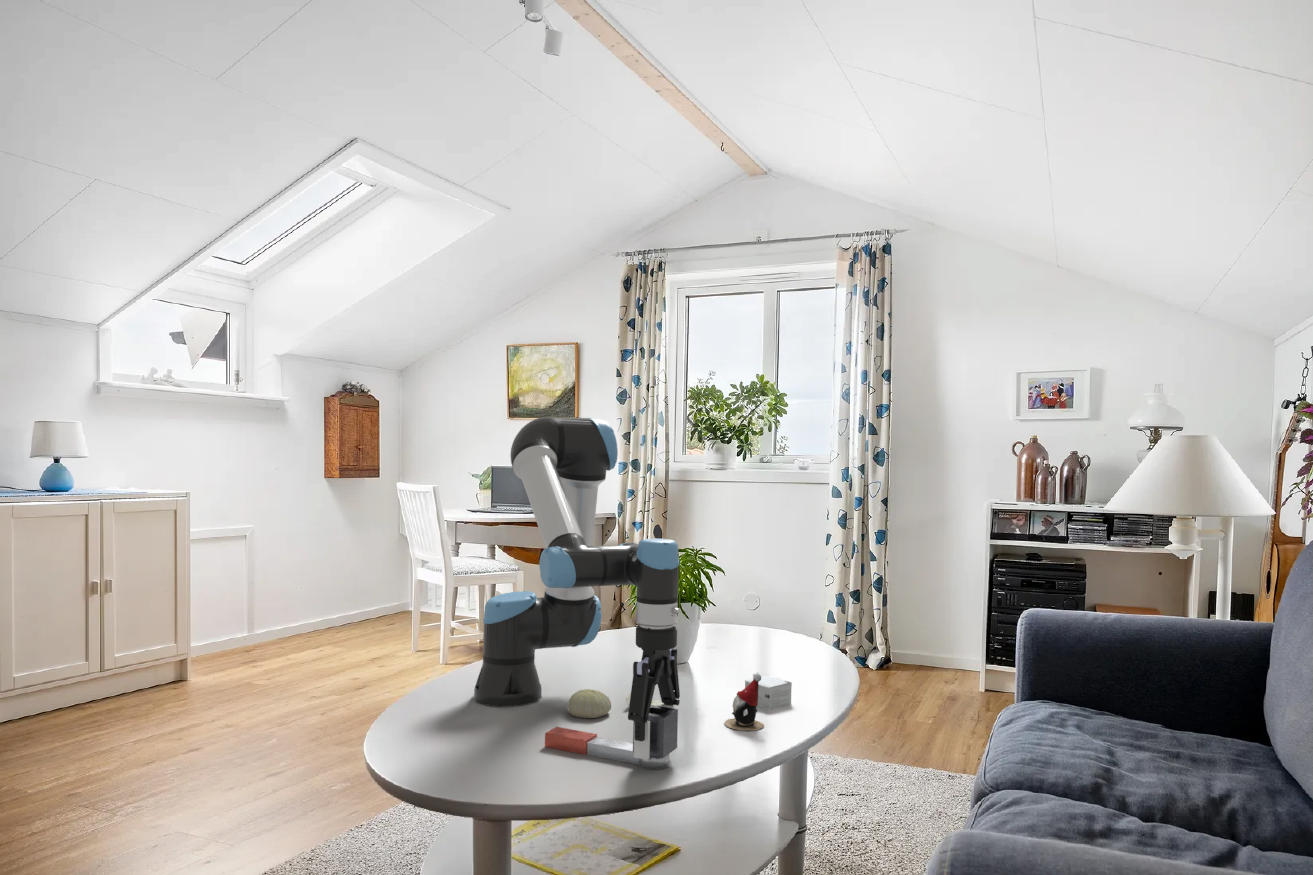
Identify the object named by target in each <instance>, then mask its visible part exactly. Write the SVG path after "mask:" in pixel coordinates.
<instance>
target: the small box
mask: <svg viewBox="0 0 1313 875" xmlns="http://www.w3.org/2000/svg"><path fill="white" fill-rule="evenodd" d="M752 681H753V678H749V679H746V680H744V689H745V688H746V687H747V686H748V685H749V684H750V683H751V682H752ZM758 684H759V687H758V702H757V707H761V708H764V709H768V710H773V709H775V708H780V707H784V706H787V705H791V704H792V682H791V681H789V680H785V679H782V678H780V677H776V676H775V677H774V676H770V675H767V674H766V675H761V680H760V681H759V682H758Z"/></svg>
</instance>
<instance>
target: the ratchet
mask: <svg viewBox="0 0 1313 875" xmlns="http://www.w3.org/2000/svg"><path fill="white" fill-rule="evenodd" d="M544 748H549V749H555V750H559V751H564V752H570V753H575V754H580V755H584V756H586V755H587V756H594V757H598V758H603V759H608V760H613V761H619V762H621V763H622V762H624V763H626V764H627V763H628V764H633V765H638V766H639V767H641V768H643V769H647V770H663V769H665V768H668V767H669V766H670V753H669V754H668V755H667V756H665V757H664V758H659V757H654V756H649V759H648V760H645V759H640V758H635V757H634V753H633V742H632V743H631V742H627V741H622V740H621V741H620V740H616V739H610V738H605V737H600V736H598V733H592V732H587V731H582V730H577V729H572V728H566V727H560V726H556V727H555V726H554V728H552V729H550V730H548V731H546V732H545V733H544Z"/></svg>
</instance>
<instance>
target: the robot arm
mask: <svg viewBox="0 0 1313 875" xmlns="http://www.w3.org/2000/svg"><path fill="white" fill-rule="evenodd" d="M511 444H512V445H511V448H510V453H509V454H510V455H509V456H510V463H511V467H512V470H513V472H514V475H515V476H516V477H517V478H519V479H520V480H521V481H522V484H523V487H524V489H525V492H526V495H527V498H528V501H529V504H530V507H531V510H532V513H533V515H534V518H535V522H536V524H537V526H538V530H539V533H540V536H541V537H542V541H543V544H544V549H543V550H542V552H541V554H540V557H539V572H540V575H539V576H540V580H541V582H542V584H543V585H544V586H545V588H544V595H543V596H542V597H538V596H537V595H536V593H535V592H534V591H529V590H528V591H527V590H524V591H512V592H505V593H502V594H498V595H494V596H492V597H491V598H489V599H488V600H487V601H486V603H485V604H484V611H483V612H484V613H483V618H482V623H483V640H482V641H483V642H482V644H483V647H482V666H481V668H480V670H479V675H478V677H477V679H476V682H475V683H476V684H475V685H474V689H473V691H474V693H473V699H474V701H475V702H476V703H479V704H481V705H486V706H490V707H504V708H506V707H518V706H525V705H529V704H533V703H536V702H537V701H539V700H540V699H541V698H542V684H541V682H540V677H539V675H538V670H537V667H536V662H535V658H536V656H535V655H536V652H535V651H536V650H541V649H554V648H555V649H556V648H569V647H570V648H571V647H572V648H575V647H579V646H585V645H589V644H591V643H592V642H593V641H594V640H595V639H596V637H597V636H598V634H599V631H600V629H601V624H602V616H603V615H602V611H601V609H602V604H601V601H600V598H599V597H598V596H597V595H595V590H594V589H593V587H605V586H607V587H609V586H625V585H626V586H630V585H631V586H634V587H636V607H635V608H636V609H635V610H636V611H635V622H636V623H637V626H636V627H635V645H636V647H637V648H640V649H641V650H642V656H641V661H634V662H633V663H632V681H631V682H632V683H631V690H630V694H631V696H630V704H629V705H628V713H627V719H628V720H629V721H634V757H635V758H640V759H645V760H648V759H649V754H650V721H647V720H648V716H649V711H650V707H651V702H652V700H653V697H654V692H655V688H656V685H657V688H658V692H659V698H660V700H661V701H662V703H664V704H660V705H659V706H661V707H667V708H674V709H675V706H679V705H680V697H681V694H680V692H681V691H680V682H679V681H680V680H679V672H678V649H677V648H676V647H677V645H678V628H677V626H676V624H677V623H678V614H679V613H680V608H678V602H679V600H678V598H679V597H678V596H679V572H680V571H679V570H680V569H679V568H680V567H679V566H680V558H679V545H678V543H677V541H676V540H673V539H671V538H670V539H669V538H668V539H666V538H643V539H640V540H639V542H638V543H636V542H632V543H631V542H630V543H629V542H623V543H620V544H617V545H593V543H594V534H595V524H596V512H597V503H598V502H597V501H598V491H599V486H600V485H601V484H602V483H603V482H604V481H606V478H607V471H611V470H614V468H615V467H616V464H617V461H618V453H619V452H618V442H617V437H616V433H615V430H614V429H613V428H612V425H611V424H610V423H609V422H607V421H606V420H604V419H599V418H598V419H597V418H591V417H554V416H553V417H552V416H543V417H538V418H535V419H533V420H530V421H529V422H527V423H526V424H525V425H524V426H522V427H521V428H520V430H519V431H518V432H517V434H516V435H515V437H514V439H513V441H512V443H511Z"/></svg>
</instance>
